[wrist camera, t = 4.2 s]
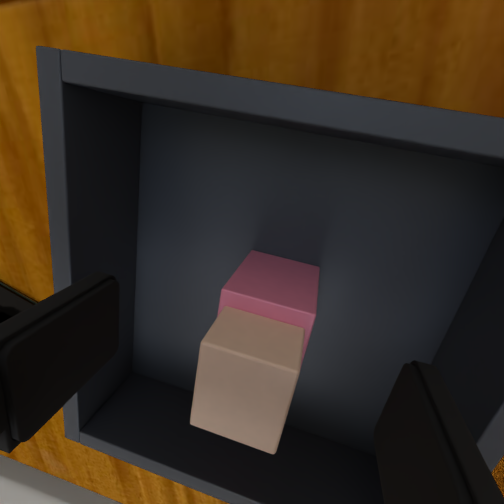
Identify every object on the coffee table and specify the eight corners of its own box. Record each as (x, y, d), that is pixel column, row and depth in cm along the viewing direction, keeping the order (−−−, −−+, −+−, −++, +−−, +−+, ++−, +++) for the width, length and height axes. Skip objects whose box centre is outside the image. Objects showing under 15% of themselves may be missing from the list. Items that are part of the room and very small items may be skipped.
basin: (549, 150, 10) (720, 151, 6) (392, 458, 16) (417, 579, 11) (137, 81, 13) (34, 44, 8) (128, 368, 18) (64, 437, 14)
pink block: (320, 266, 12) (313, 359, 7) (298, 343, 14) (278, 471, 8) (251, 249, 13) (194, 323, 7) (237, 325, 14) (180, 434, 9)
